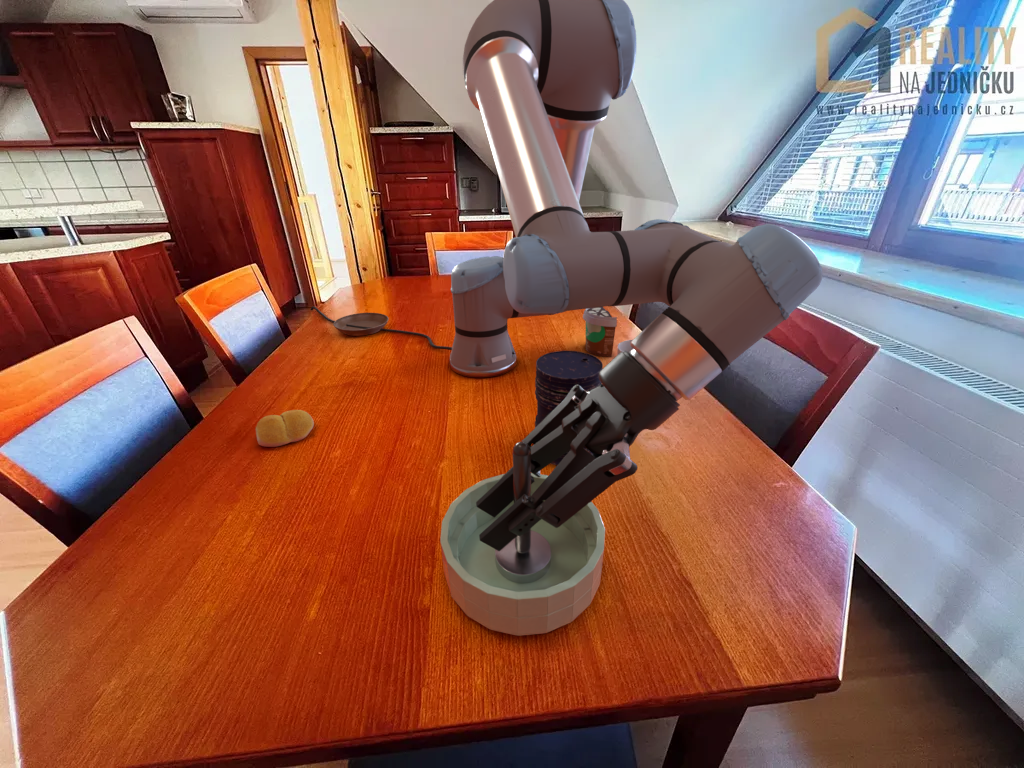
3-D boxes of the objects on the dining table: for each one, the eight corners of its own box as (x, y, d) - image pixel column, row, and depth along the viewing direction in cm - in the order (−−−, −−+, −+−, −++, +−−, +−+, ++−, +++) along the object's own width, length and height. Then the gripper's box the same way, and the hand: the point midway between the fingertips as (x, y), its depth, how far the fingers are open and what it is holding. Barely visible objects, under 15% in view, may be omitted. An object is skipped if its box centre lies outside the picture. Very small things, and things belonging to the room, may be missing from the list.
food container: (576, 340, 109) (578, 303, 105) (599, 339, 110) (602, 302, 105) (587, 360, 98) (590, 319, 94) (613, 359, 99) (617, 317, 94)
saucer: (400, 326, 122) (399, 317, 121) (359, 342, 111) (357, 333, 110) (366, 318, 129) (364, 309, 128) (324, 333, 118) (322, 323, 117)
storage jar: (555, 474, 62) (558, 385, 56) (523, 440, 70) (522, 358, 63) (609, 454, 66) (618, 368, 60) (573, 424, 74) (577, 345, 67)
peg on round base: (483, 557, 49) (475, 442, 41) (524, 529, 52) (524, 418, 45) (520, 594, 44) (518, 473, 37) (562, 561, 48) (568, 444, 41)
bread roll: (319, 436, 73) (313, 416, 71) (260, 454, 68) (253, 434, 66) (310, 415, 79) (304, 396, 77) (256, 430, 74) (249, 411, 73)
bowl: (417, 557, 50) (410, 520, 47) (527, 489, 60) (527, 455, 57) (515, 679, 38) (514, 638, 35) (632, 568, 48) (638, 529, 45)
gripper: (728, 449, 34) (525, 612, 39) (640, 361, 49) (502, 488, 54) (676, 396, 31) (463, 581, 36) (599, 320, 46) (458, 459, 51)
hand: (487, 525), depth 45 cm, fingers open, 4 cm apart
